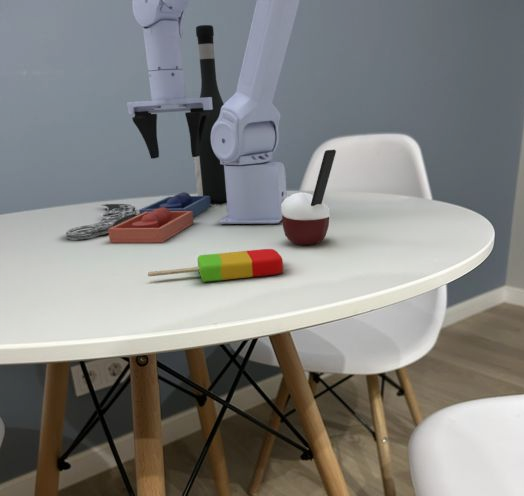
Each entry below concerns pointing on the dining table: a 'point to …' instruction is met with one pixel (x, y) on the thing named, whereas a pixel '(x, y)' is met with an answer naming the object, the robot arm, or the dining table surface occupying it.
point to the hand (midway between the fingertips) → (175, 157)
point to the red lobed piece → (154, 219)
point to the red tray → (150, 229)
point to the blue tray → (196, 207)
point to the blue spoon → (178, 201)
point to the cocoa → (308, 209)
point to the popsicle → (233, 265)
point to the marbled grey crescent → (104, 222)
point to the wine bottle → (209, 123)
